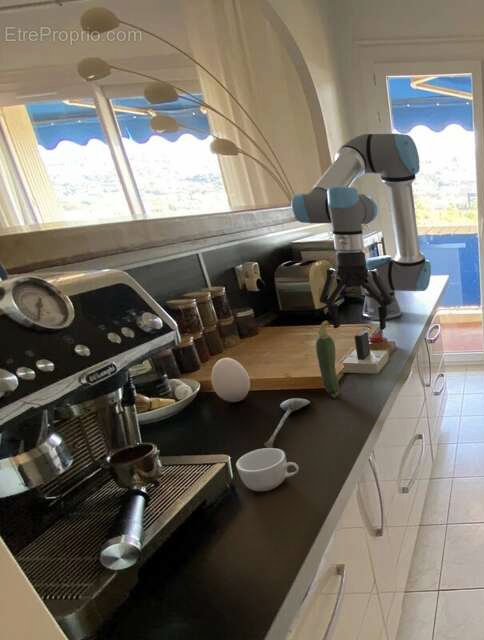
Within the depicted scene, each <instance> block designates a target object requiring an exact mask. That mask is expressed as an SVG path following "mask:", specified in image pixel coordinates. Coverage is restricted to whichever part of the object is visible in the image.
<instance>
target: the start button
mask: <svg viewBox="0 0 484 640" xmlns="http://www.w3.org/2000/svg"><path fill="white" fill-rule="evenodd" d="M383 337H384V335H383V333H372V334H370V335H369V339H370V342H372V343H379V342H383Z"/></svg>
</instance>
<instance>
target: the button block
mask: <svg viewBox="0 0 484 640" xmlns="http://www.w3.org/2000/svg"><path fill="white" fill-rule="evenodd" d="M369 346H370V350H374V351H388V357H390V355H391V354H392V353H393V352H394V351H395V349H396V348H397V345H396V340H389V339H388V338H387V337H384V336H383V342H379V343H372V342H370V338H369Z"/></svg>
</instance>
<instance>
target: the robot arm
mask: <svg viewBox="0 0 484 640" xmlns="http://www.w3.org/2000/svg"><path fill="white" fill-rule="evenodd" d="M334 157H335V158H334V159H335V160H334V161H333V162H332V163H331V164H330V166H328V168H327V169H326V171H325V172H324V173H323V174H322V176H321V177H320V178H319V179H318V180H317V181H316V183H315V184H314V185H313V187H312V188H311V189H310V191H308V193H302V192H301V193H297V194H294V195H293V196H292V198H291V212H292V214H293V216H294V218H295V219H296V220H297V222H299V223H303V224H310V225H313V224H331V229H332V237H333V244H334V250H336V252H335V259H336V266H337V269H334V268H333V267H330V268H327V269H326V279H325V282H324V284H323V288H322V291H321V294H320V297H319V302H320V303H321V304H325V305H326V306H327V311H328V312H327V313H328V316H329V317H331V319H332V325H333V329H338V328H339V327H341V322H340V321H341V320H340V315H339V309H338V303H335V301H336V300H337V299H338V297H339V296H340V294H341V293H342V291H343V290H344V288H345V287H346V286H347V287H355V288H359V287H362V288H363V289H364V297H365V298H364V303H363V307H362V317H363V318H364V319H365V320H370V321H379V329H380V331H383V330H385V329H386V328H387V323H386V321H388V320H393V319H397V318H399V317H401V316H402V309H401V307H400V304H399V302H398V300H397V298H396V293H395V292H396V291H397V292H425V291H426V290H428V288H429V284H430V282H431V273H432V265H431V262H430V261H429V260H428V259H427V260H426V255H425V254H424V252H421V248H420V242H419V241H420V239H419V232H418V224H417V223H418V222H417V215H416V214H417V213H416V207H415V199H414V190H413V189H414V188H413V184H414V182H415V181H416V179H417V177H416V175H417V174H419V172H420V167H421V165H420V156H419V151H418V148H417V144H416V142H415V141H414V139H413V138H412V137H411V135H409V134H403V133H364V134H359V135H357V136H355V137H353V138H351V139H350V140H347V142H345V143H344V144H343V145H341V147H340V148H339V149H338V150H337V152H336V153H335V156H334ZM366 174H380V179H381V181H382V182H383V183H384V185H386V188H387V192H388V193H387V195H388V200H389V209H390V214H391V220H392V227H393V233H394V240H395V246H396V247H395V248H396V254H395V255H394V257H393V258H392V256H391V255H379V256H373V257H369V258H366V252H365V251H363V250H364V249H365V242H364V241H365V240H364V234H363V225H368V224H370V223H372V222H373V221H375V219H376V218H377V215H378V206H377V203H376V202H375V200H374V199H373V198H372V197H371V196H369V195H368V194H367V195H366V194H364V193H363V194H362V193H361V194H360V193H359V192H358V190H357V188H356V187H354V186H352V184H353V183H354V181H355V180H357V179H359V178H361V177H362V176H363V175H366ZM337 276H338V278H339V279H340V281H339V282H338V284H337V286H336V287H335V289H334V290H333V292H332V293H331V291H332V287H333V284H334V281H335V278H336V277H337ZM330 293H331V294H330Z"/></svg>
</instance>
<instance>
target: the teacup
mask: <svg viewBox="0 0 484 640" xmlns="http://www.w3.org/2000/svg"><path fill="white" fill-rule="evenodd" d="M235 466H236V467H235V468H236V470H237V473H238V474H239V477H240V480H241V482H242V483H243V484H244V486H245V487H246V488H247V489H249V490H251V491H255V492H268V491H270V490H271V491H272V490H274V489H276V488H277V487H279V486H280V485H281V484H282V483H283V482H284V480H285V479H287V478H290V477H293V476H295V475H296V474H298V473H299V471H300V468H299V465H298V464H297V463H296V462H293V461H288V462H287V457H286V453H285V451H284V450H283V449H281V448H276V447H273V448H267V447H265V448H258V449H254V450H252V451H248V452H247V453H244V454H243V455H242V456H241V457H239V458H238V460H237V461H236V463H235ZM290 466H293V467H294V468H295V471H293V472H288V467H290Z"/></svg>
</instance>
